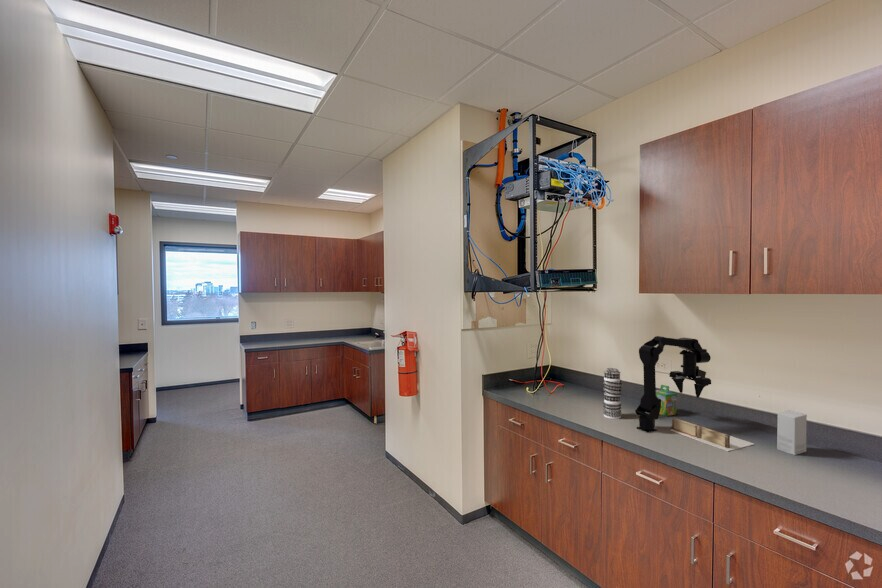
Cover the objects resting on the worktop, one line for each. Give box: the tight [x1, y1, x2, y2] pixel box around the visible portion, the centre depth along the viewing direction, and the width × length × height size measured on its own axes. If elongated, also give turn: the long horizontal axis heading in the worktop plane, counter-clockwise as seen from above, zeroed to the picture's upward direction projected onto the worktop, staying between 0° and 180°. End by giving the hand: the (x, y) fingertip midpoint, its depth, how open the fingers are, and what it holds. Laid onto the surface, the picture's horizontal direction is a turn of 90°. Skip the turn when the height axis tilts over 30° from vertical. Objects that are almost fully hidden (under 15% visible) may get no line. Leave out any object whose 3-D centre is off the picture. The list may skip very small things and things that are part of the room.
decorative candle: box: [602, 367, 623, 420], centre depth 205 cm, size 9×9×25 cm
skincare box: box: [776, 409, 808, 456], centre depth 160 cm, size 8×7×16 cm
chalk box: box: [656, 384, 678, 417], centre depth 210 cm, size 9×9×15 cm
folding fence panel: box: [701, 426, 731, 448], centre depth 168 cm, size 11×2×5 cm, turn 22°
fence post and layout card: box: [669, 417, 755, 452], centre depth 176 cm, size 18×27×6 cm, turn 22°
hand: (689, 395), depth 193 cm, fingers open, 9 cm apart
